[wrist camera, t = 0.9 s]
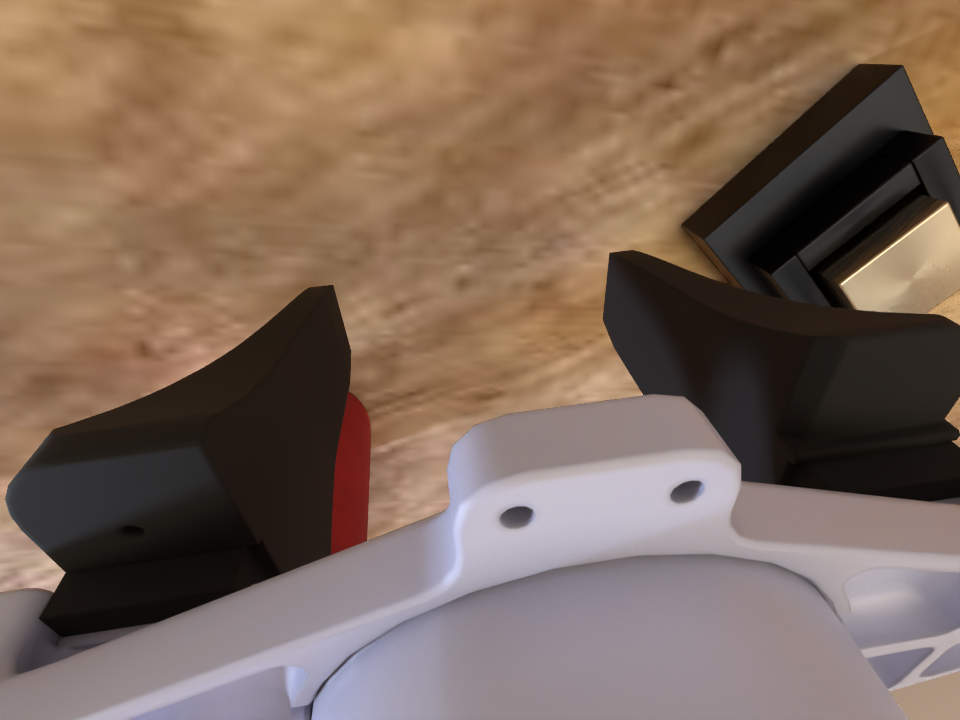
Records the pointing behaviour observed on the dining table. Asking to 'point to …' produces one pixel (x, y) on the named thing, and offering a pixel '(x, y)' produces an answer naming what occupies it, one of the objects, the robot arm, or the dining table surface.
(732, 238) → the switch block
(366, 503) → the coffee cup
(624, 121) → the dining table surface
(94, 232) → the dining table surface
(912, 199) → the switch
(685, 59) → the dining table surface
